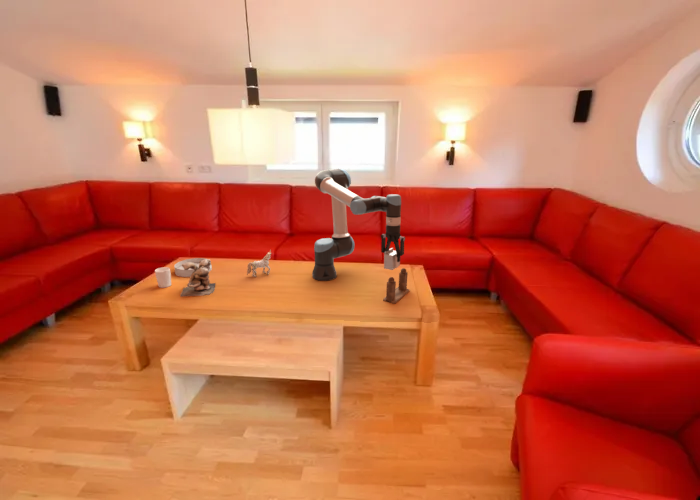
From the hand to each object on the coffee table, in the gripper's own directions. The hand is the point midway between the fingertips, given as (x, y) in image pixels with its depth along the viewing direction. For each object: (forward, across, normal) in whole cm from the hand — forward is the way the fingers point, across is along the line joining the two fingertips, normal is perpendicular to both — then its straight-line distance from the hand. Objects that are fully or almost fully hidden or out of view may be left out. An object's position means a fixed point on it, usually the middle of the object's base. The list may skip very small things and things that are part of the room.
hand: (392, 266), depth 195 cm
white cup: (+15, -116, -62) cm, 132 cm away
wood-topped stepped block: (0, 0, 0) cm, 0 cm away
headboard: (+17, +3, +1) cm, 17 cm away
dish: (+15, -124, -38) cm, 130 cm away
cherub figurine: (+15, -95, -55) cm, 111 cm away
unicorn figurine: (+15, -84, -18) cm, 87 cm away
